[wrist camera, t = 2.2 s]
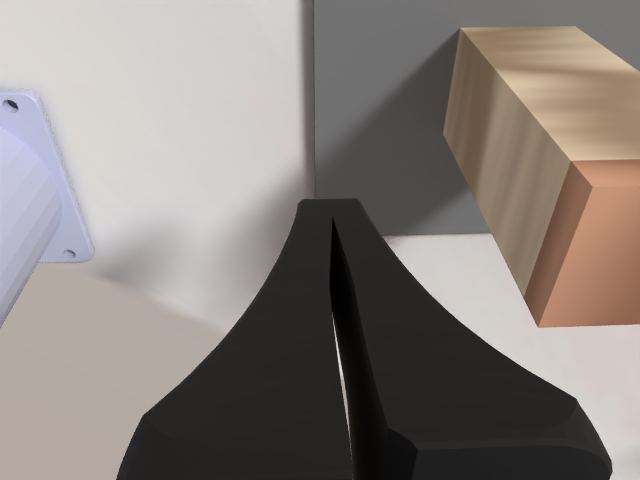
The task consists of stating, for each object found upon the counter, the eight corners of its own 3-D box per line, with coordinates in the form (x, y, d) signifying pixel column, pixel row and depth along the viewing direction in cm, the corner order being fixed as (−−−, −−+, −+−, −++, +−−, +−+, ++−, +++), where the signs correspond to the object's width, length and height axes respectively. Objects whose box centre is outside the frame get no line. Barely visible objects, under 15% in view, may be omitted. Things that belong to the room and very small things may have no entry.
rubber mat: (315, 230, 24) (315, 237, 23) (312, -157, 15) (312, -156, 14) (783, 217, 24) (791, 224, 24) (1044, -158, 16) (1064, -158, 15)
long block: (442, 133, 20) (537, 327, 12) (460, 27, 18) (592, 186, 10) (543, 131, 20) (700, 322, 13) (575, 26, 18) (794, 181, 10)
